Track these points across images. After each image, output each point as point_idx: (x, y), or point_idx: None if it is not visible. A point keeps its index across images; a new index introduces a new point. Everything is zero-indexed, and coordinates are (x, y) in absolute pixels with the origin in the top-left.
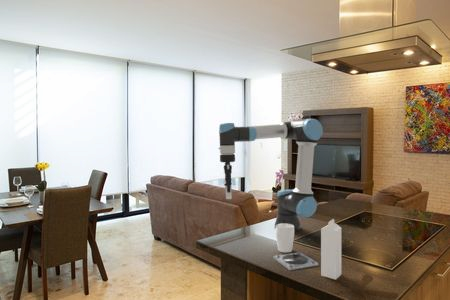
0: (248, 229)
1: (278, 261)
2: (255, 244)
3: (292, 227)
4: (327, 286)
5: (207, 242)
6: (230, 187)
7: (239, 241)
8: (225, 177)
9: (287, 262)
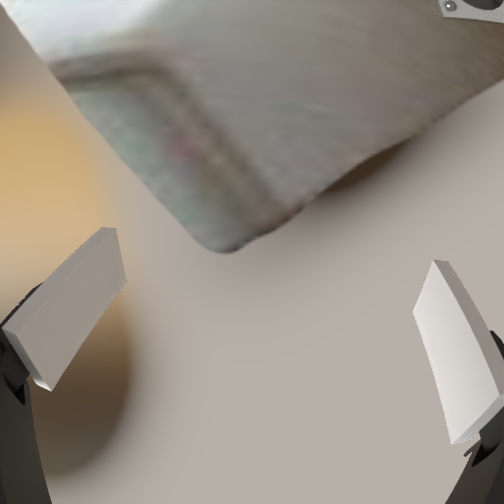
0: (77, 62)
1: (471, 19)
2: (276, 32)
3: None
4: None
5: (229, 229)
6: (497, 377)
7: (227, 96)
8: (36, 447)
9: (495, 8)
